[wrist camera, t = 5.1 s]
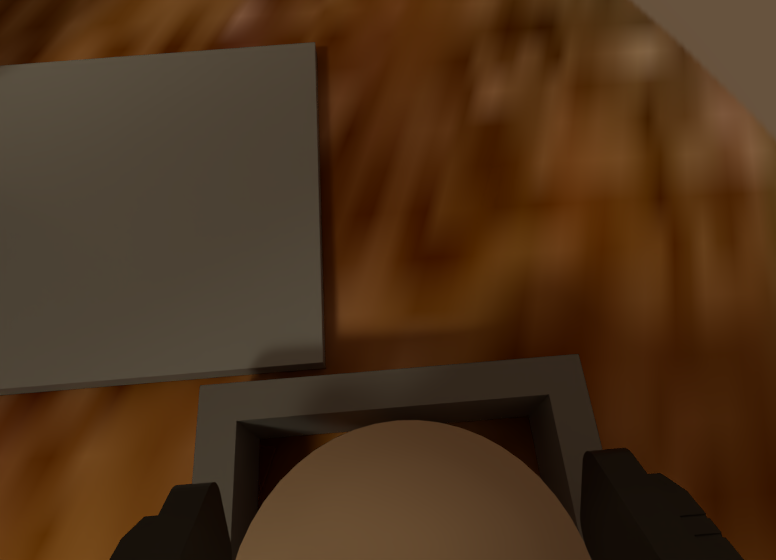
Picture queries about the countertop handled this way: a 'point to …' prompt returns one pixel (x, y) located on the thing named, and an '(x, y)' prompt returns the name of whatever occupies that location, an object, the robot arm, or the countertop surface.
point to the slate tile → (160, 218)
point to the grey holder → (394, 419)
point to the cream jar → (412, 502)
